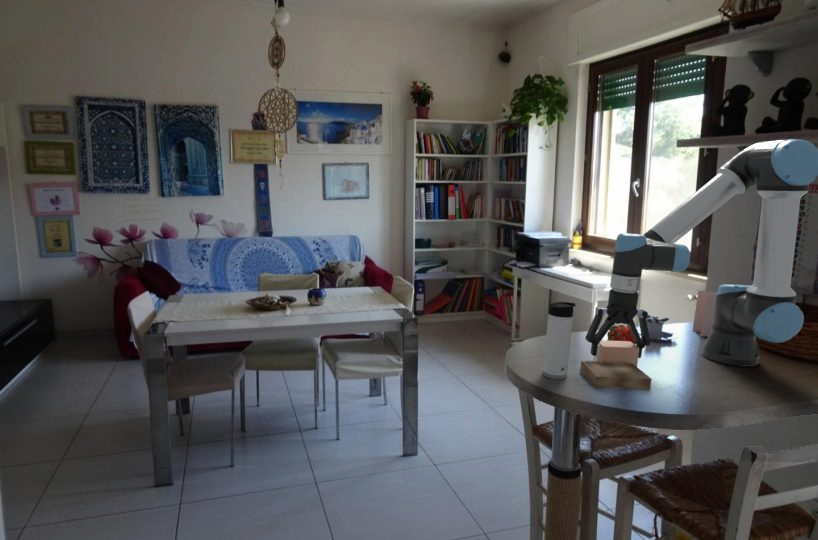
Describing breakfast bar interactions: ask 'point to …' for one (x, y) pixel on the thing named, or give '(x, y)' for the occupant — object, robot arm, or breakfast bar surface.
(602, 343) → the block
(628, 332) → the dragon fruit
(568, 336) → the travel mug
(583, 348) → the breakfast bar surface
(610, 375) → the brown wooden board
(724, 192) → the robot arm
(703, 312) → the greeting card
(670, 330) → the breakfast bar surface
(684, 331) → the breakfast bar surface
